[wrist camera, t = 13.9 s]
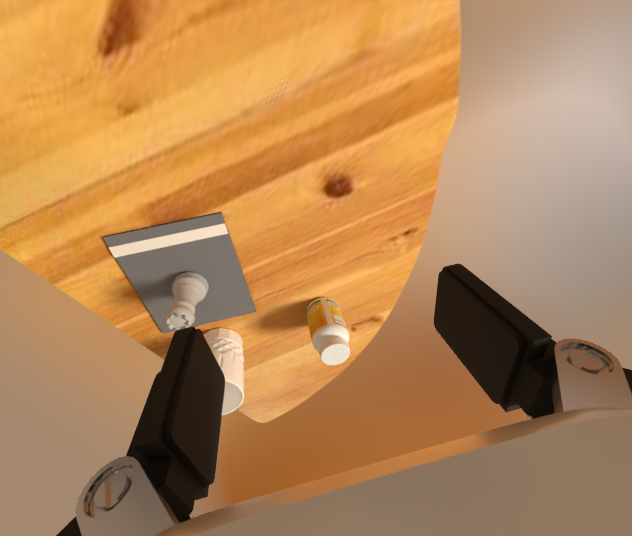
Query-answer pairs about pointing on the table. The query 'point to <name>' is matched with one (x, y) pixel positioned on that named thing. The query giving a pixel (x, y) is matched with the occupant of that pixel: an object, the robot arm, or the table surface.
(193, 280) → the rook chess piece
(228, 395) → the white cup
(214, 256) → the mat
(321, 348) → the supplement bottle
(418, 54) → the table surface
